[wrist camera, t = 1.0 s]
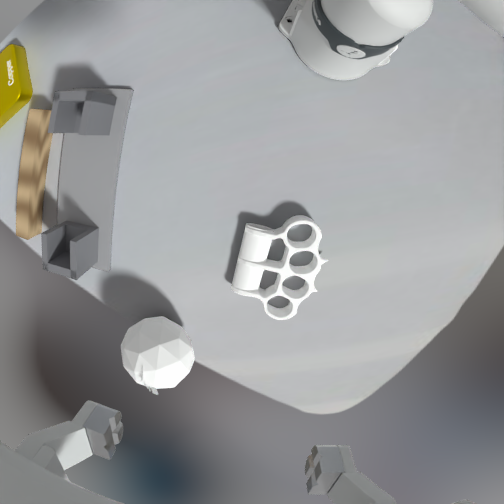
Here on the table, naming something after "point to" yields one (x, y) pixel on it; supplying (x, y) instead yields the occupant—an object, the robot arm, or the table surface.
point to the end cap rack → (86, 178)
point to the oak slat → (33, 174)
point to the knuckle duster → (276, 265)
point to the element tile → (13, 82)
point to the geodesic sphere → (157, 353)
